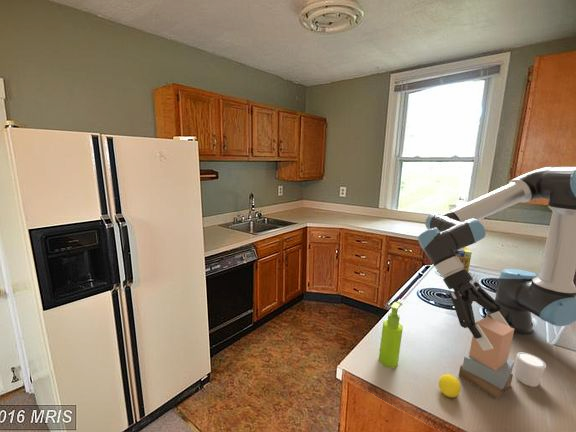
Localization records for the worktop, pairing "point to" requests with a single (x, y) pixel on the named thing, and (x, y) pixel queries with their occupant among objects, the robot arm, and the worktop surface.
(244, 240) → the worktop surface
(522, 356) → the white cylinder
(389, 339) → the soap dispenser
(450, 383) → the lemon
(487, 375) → the tower top block
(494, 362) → the terracotta block
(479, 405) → the worktop surface
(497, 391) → the tower base block
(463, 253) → the protein box
